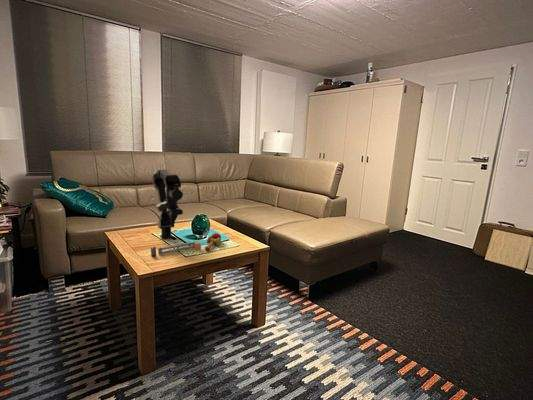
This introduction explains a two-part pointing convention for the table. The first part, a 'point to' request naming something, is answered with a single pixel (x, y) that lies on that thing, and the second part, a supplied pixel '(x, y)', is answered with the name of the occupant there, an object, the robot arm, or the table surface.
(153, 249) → the hinge post
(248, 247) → the table surface
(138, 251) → the table surface
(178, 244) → the grey long rod
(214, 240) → the kendama
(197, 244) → the latch post
